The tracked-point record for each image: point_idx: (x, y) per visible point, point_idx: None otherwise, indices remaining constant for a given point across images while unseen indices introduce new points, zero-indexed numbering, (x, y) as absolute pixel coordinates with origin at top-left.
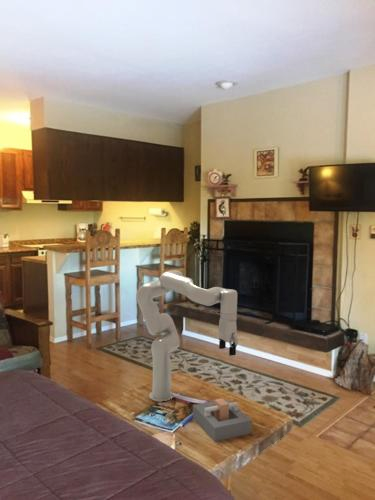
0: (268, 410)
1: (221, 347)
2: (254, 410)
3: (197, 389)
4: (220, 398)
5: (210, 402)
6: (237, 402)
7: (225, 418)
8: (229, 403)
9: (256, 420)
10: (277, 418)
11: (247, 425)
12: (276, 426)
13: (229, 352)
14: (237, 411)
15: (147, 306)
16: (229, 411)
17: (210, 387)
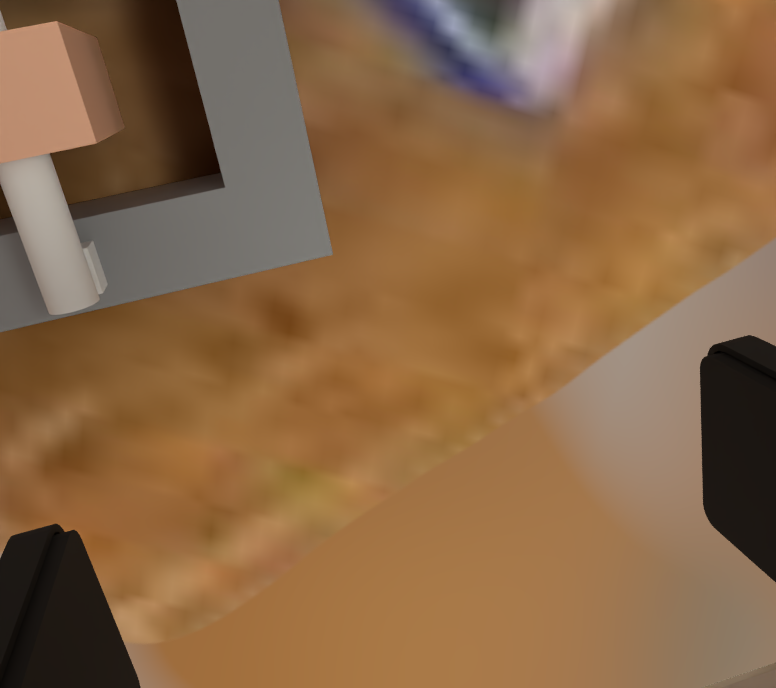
0: (285, 554)
1: (726, 414)
2: (300, 456)
3: (768, 78)
4: (87, 116)
5: (278, 46)
6: (62, 313)
7: None
8: (35, 213)
9: (129, 430)
10: (150, 585)
11: None
12: None
13: (7, 590)
14: (37, 283)
15: None
16: (101, 211)
17: (765, 209)
